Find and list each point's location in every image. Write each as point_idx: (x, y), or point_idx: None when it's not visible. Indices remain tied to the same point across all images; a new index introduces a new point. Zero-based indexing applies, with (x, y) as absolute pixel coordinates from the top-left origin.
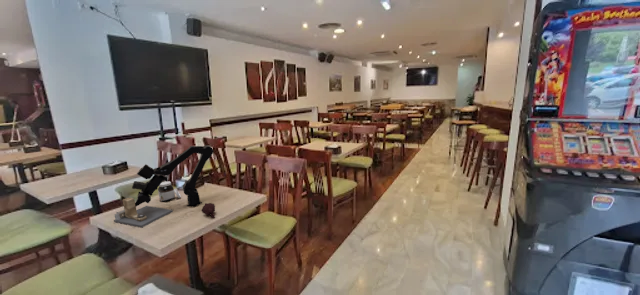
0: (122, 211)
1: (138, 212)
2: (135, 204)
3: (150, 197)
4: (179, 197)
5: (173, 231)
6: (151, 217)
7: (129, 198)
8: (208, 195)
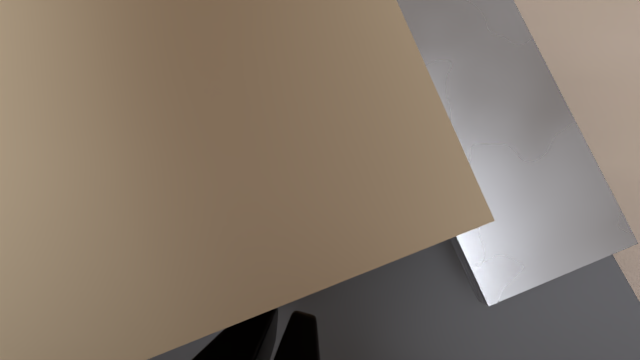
0: (444, 43)
1: (473, 356)
2: (210, 356)
3: None
4: None
5: None
6: None
7: (238, 204)
8: None
